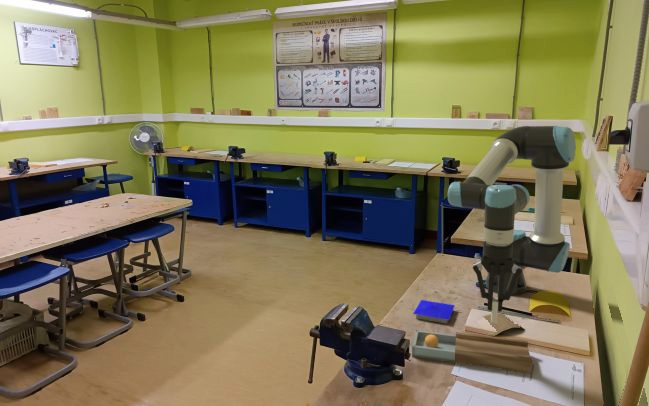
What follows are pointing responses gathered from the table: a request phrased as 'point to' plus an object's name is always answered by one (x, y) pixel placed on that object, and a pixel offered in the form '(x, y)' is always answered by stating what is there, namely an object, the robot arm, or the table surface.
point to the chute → (493, 352)
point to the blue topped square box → (434, 311)
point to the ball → (431, 341)
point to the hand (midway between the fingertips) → (494, 320)
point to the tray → (441, 352)
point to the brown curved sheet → (501, 323)
